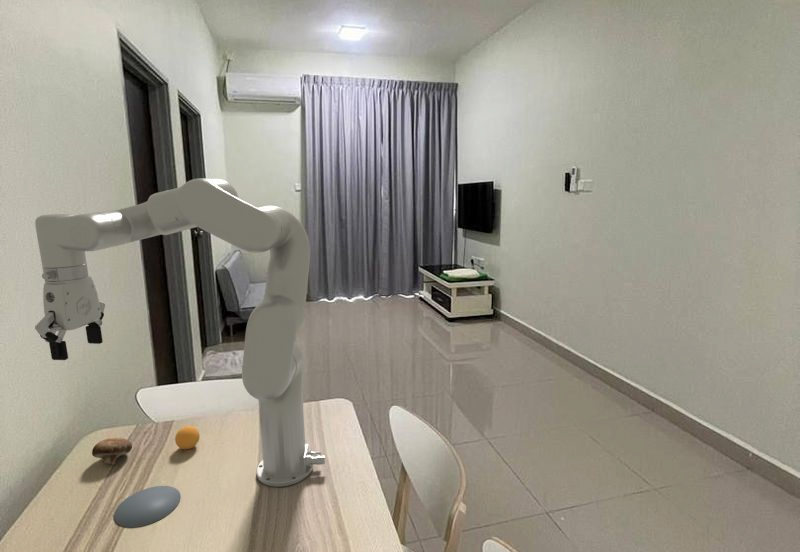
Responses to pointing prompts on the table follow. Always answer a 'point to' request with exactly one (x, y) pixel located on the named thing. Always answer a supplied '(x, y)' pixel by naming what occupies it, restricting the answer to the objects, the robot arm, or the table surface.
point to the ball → (187, 437)
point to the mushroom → (111, 449)
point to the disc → (147, 506)
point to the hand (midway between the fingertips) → (78, 350)
